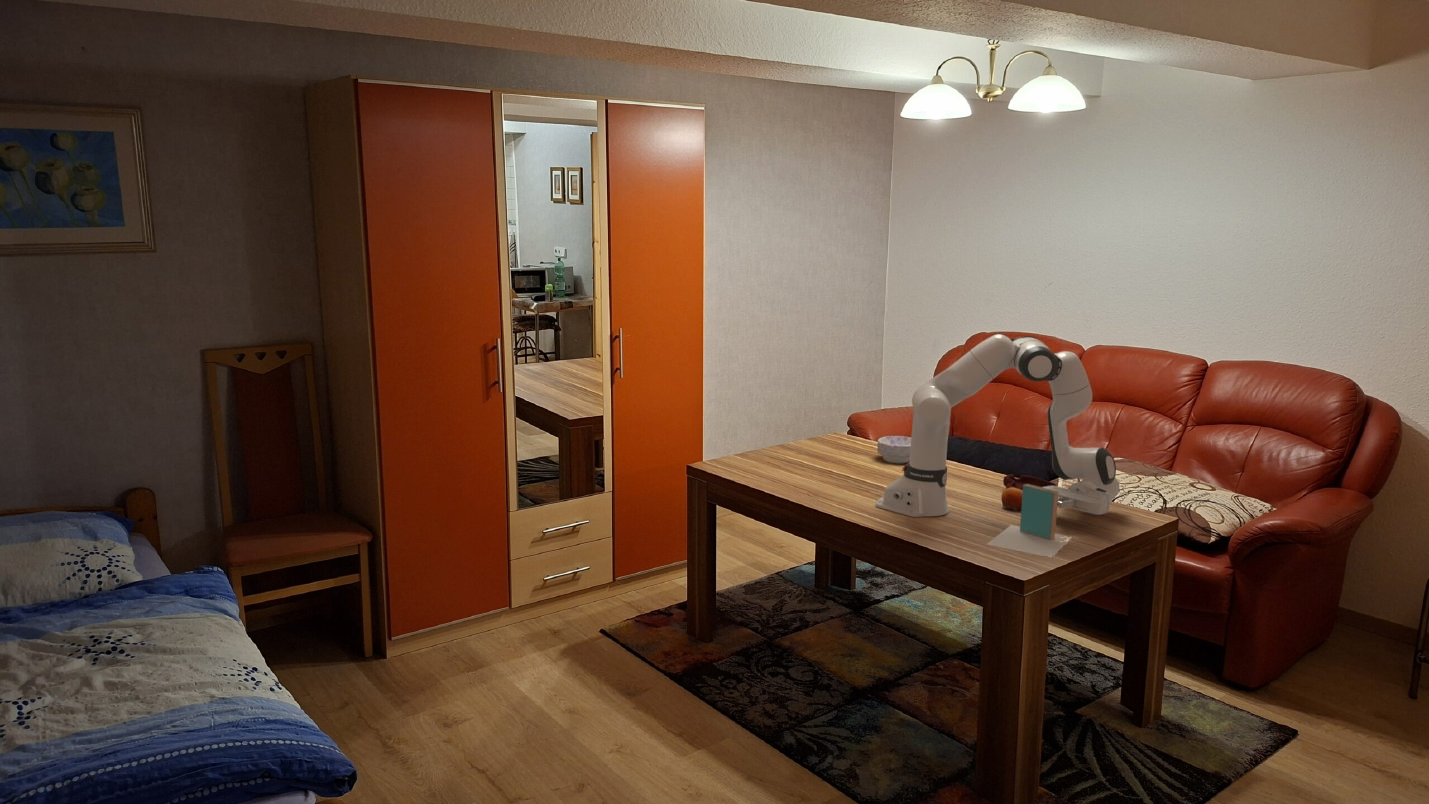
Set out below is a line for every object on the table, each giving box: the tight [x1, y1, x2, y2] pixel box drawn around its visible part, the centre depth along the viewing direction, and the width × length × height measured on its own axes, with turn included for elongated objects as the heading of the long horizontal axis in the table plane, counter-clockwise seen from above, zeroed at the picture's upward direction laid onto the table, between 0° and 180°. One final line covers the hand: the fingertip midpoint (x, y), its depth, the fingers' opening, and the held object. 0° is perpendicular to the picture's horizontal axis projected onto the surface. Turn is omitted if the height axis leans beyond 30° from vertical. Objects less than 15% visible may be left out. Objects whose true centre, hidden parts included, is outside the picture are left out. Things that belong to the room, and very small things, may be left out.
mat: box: [986, 524, 1070, 559], centre depth 271 cm, size 18×21×1 cm
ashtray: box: [1002, 473, 1057, 491], centre depth 315 cm, size 18×16×5 cm
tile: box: [1019, 484, 1058, 540], centre depth 274 cm, size 2×10×14 cm, turn 40°
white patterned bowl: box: [877, 435, 911, 464], centre depth 358 cm, size 15×15×8 cm
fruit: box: [1001, 487, 1023, 512], centre depth 300 cm, size 8×8×8 cm
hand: (1057, 504), depth 281 cm, fingers closed
